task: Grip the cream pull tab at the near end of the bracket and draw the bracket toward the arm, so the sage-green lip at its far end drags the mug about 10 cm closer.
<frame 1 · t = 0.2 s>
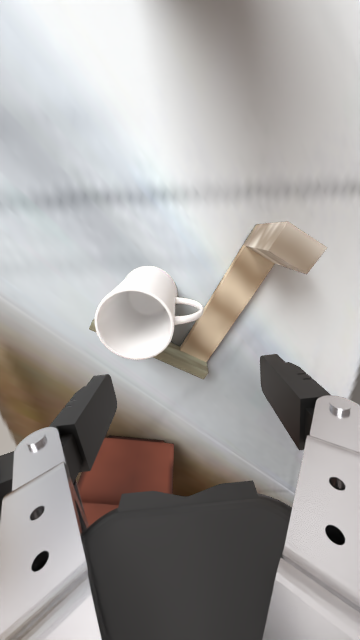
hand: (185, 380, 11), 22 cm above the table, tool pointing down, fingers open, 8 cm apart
bracket: (186, 291, 27), point 5 cm above the table, slide at 0.0 cm
mug: (160, 294, 32), on the table
potted plant: (135, 455, 47), on the table
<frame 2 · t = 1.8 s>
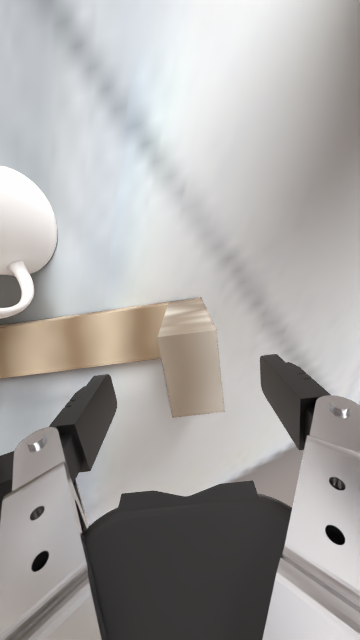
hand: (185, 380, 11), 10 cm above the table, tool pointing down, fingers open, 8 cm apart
bracket: (30, 267, 14), point 5 cm above the table, slide at 0.0 cm
mug: (23, 242, 18), on the table
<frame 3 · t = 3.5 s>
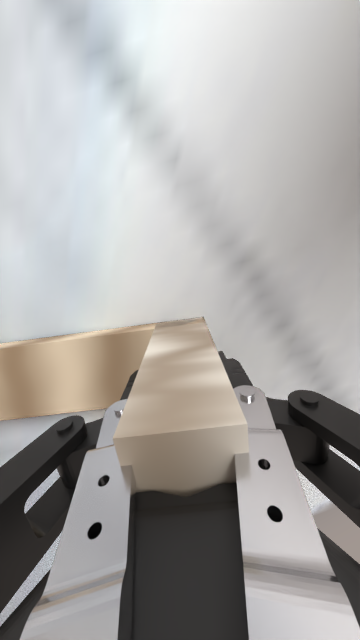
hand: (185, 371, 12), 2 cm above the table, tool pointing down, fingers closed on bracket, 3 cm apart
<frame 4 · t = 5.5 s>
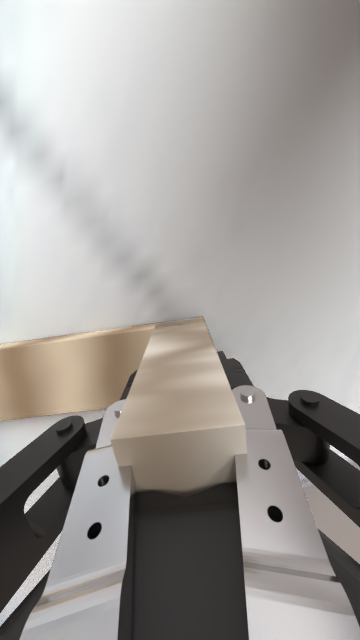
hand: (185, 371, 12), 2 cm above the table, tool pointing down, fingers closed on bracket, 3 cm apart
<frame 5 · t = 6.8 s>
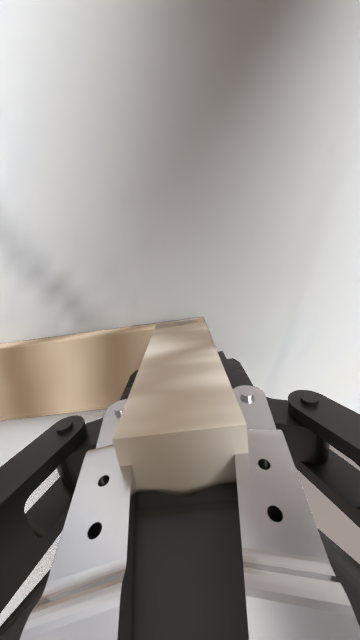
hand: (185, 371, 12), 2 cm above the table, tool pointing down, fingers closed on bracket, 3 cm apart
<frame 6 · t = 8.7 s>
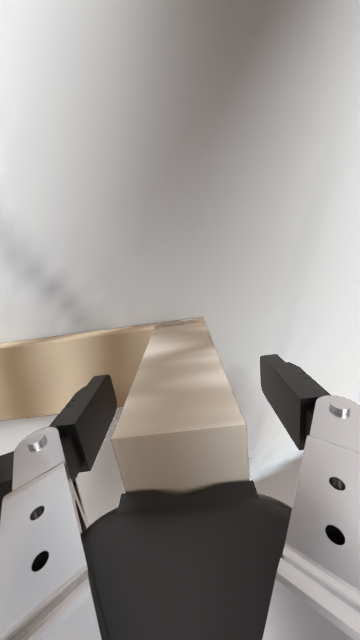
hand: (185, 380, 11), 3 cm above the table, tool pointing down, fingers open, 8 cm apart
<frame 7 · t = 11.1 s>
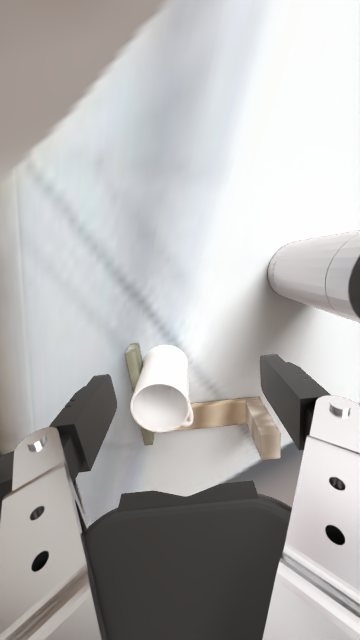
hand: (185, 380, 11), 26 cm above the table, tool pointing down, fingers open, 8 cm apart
bracket: (201, 397, 36), point 5 cm above the table, slide at 12.0 cm
mug: (170, 371, 40), on the table
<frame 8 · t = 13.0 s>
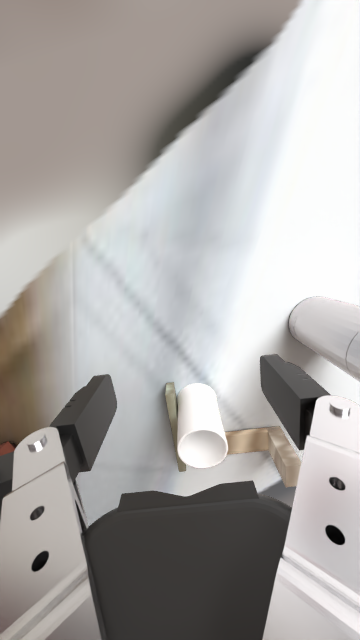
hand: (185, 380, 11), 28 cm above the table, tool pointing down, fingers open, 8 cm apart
bracket: (230, 431, 40), point 5 cm above the table, slide at 12.0 cm
mug: (200, 405, 45), on the table
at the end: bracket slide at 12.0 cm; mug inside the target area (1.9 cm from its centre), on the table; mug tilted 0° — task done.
